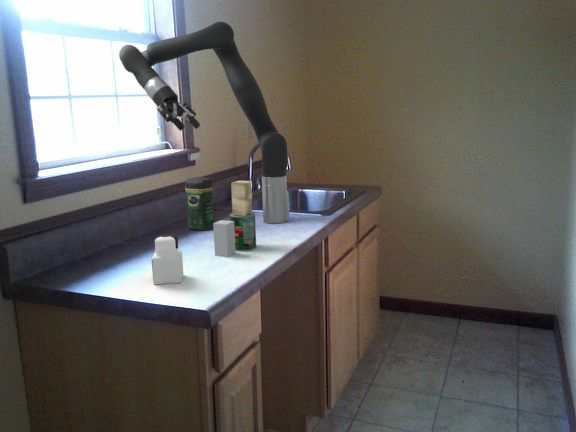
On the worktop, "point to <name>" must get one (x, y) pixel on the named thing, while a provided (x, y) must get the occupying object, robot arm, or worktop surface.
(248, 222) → the canned tomato
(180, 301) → the worktop surface
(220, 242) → the grey block
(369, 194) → the worktop surface
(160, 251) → the medicine bottle
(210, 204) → the coffee jar
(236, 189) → the maple block
